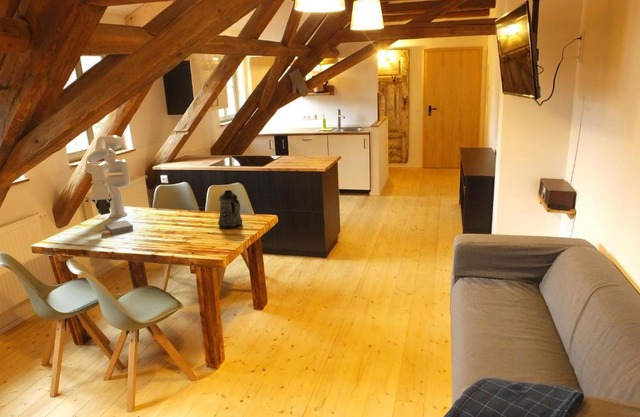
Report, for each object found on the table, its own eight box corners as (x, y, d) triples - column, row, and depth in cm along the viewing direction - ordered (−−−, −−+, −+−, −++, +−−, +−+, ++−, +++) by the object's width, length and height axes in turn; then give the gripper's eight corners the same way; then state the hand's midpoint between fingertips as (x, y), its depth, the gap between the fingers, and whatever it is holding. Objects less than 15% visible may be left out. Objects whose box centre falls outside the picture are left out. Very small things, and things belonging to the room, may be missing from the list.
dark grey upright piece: (226, 221, 334) (223, 187, 327) (250, 223, 327) (248, 188, 321) (213, 228, 319) (210, 193, 312) (239, 230, 312) (236, 194, 306)
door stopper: (110, 213, 312) (107, 196, 309) (100, 215, 309) (97, 197, 306) (107, 210, 319) (104, 193, 316) (98, 212, 316) (95, 194, 313)
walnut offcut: (102, 236, 311) (101, 231, 311) (108, 234, 314) (107, 230, 313) (105, 237, 308) (104, 233, 307) (111, 236, 310) (110, 231, 310)
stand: (105, 229, 324) (104, 224, 323) (126, 225, 332) (125, 219, 331) (112, 235, 312) (111, 229, 311) (133, 230, 320) (132, 224, 319)
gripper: (83, 184, 303) (88, 211, 308) (111, 182, 306) (116, 209, 311) (86, 182, 310) (91, 208, 315) (114, 180, 313) (118, 205, 319)
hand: (103, 208), depth 313 cm, fingers closed on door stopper, 6 cm apart
